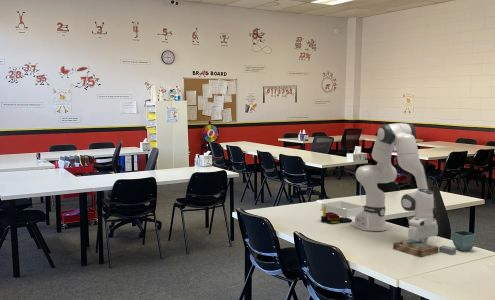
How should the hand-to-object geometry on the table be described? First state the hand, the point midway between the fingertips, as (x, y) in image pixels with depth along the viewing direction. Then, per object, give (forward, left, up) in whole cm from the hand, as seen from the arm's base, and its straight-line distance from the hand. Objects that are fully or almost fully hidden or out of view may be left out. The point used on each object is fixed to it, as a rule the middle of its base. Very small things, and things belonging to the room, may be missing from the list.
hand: (423, 245), depth 255 cm
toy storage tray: (-84, +24, -2) cm, 88 cm away
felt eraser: (+11, +5, -2) cm, 12 cm away
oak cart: (-1, -6, -2) cm, 6 cm away
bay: (0, -5, -2) cm, 5 cm away
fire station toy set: (-68, +2, -2) cm, 68 cm away
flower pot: (+12, +17, -2) cm, 21 cm away
